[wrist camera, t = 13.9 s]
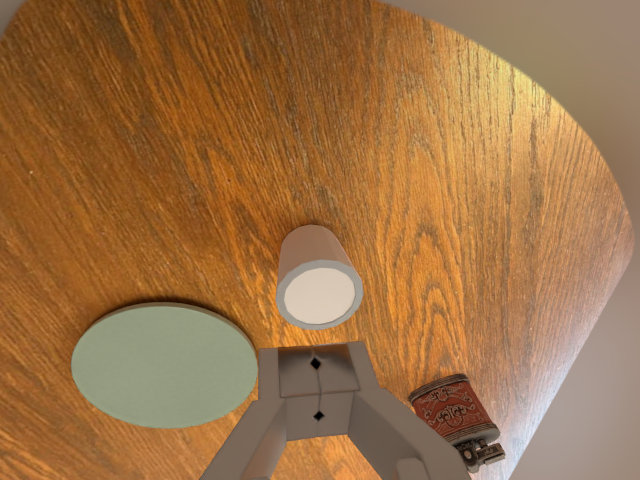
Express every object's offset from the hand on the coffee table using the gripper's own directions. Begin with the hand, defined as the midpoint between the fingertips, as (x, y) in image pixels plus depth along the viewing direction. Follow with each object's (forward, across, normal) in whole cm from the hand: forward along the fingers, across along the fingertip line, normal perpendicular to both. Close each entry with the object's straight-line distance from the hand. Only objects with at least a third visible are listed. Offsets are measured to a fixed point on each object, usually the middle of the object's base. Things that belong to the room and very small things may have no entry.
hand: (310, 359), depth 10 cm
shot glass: (+21, -3, +9) cm, 23 cm away
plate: (+21, +12, +23) cm, 33 cm away
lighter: (+21, -20, +31) cm, 42 cm away
